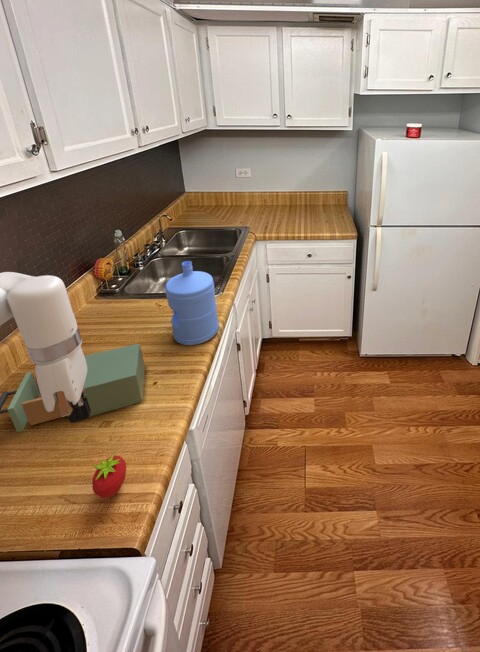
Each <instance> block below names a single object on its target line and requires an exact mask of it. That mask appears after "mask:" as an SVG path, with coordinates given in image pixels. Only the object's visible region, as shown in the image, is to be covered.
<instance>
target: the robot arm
mask: <svg viewBox="0 0 480 652" xmlns="http://www.w3.org/2000/svg"><path fill="white" fill-rule="evenodd" d="M11 319H14V321H15V323H16V326H17V328H18V331H19V333H20V336H21V339H22V341H23V344H24V346H25V349H26V351H27V354H28V356H29V359H30V361H31V363H33V364H34V363H35V364H34V370H35V377H36V384H37V388H38V390H39V395H40V398H41V397H42V400H43V403H44V406H45V409H46V411H47V412H51V411H54V408H55V405H56V402H57V400H58V403H59V408H60V412H61V416H62V417H61V418H65V417H68V420H69V423H71V424H73V423H77V422H80V421H84V420H88V419H89V418H90V417H91V416H90V413H91V409H90V406H89V403H88V400H87V397H85V395H86V392H85V388H84V383H85V379H86V375H87V363H86V359H85V354H84V350H83V349H82V344H83V339H82V336H81V333H80V330H79V326H78V323H77V320H76V315H75V313H74V310H73V307H72V304H71V300H70V298H69V294H68V291H67V288H66V285H65V283H64V281H63V279H61V278H60V277H58V276H55V275H49V274H47V275H39V276H33V275H29V274H24V273H19V272H15V271H3V272H0V327H1V326H2V325H3V324H5V323H6V322H8V321H9V320H11ZM83 397H84V398H83Z"/></svg>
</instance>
